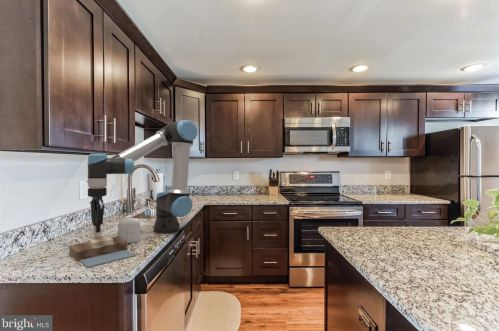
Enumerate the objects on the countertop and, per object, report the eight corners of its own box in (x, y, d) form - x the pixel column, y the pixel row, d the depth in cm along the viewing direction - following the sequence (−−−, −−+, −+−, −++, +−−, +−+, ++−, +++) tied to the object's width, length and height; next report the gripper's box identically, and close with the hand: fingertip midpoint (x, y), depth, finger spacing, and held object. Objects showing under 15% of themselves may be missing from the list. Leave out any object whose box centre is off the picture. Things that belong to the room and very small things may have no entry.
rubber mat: (125, 250, 121) (125, 249, 121) (134, 256, 114) (134, 255, 114) (80, 261, 107) (80, 260, 107) (87, 268, 101) (87, 266, 101)
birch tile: (107, 240, 122) (107, 235, 122) (113, 244, 117) (113, 239, 117) (87, 244, 117) (87, 238, 117) (92, 248, 111) (93, 242, 111)
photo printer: (138, 239, 138) (139, 216, 137) (140, 242, 134) (140, 217, 134) (117, 243, 132) (117, 218, 132) (118, 245, 128) (118, 220, 128)
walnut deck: (117, 244, 130) (117, 236, 130) (127, 250, 122) (127, 241, 122) (69, 254, 115) (69, 245, 115) (76, 261, 107) (76, 251, 107)
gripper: (83, 186, 122) (83, 237, 122) (92, 189, 112) (92, 243, 113) (101, 186, 127) (101, 234, 127) (111, 188, 118) (110, 240, 118)
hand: (97, 239), depth 120 cm, fingers closed
